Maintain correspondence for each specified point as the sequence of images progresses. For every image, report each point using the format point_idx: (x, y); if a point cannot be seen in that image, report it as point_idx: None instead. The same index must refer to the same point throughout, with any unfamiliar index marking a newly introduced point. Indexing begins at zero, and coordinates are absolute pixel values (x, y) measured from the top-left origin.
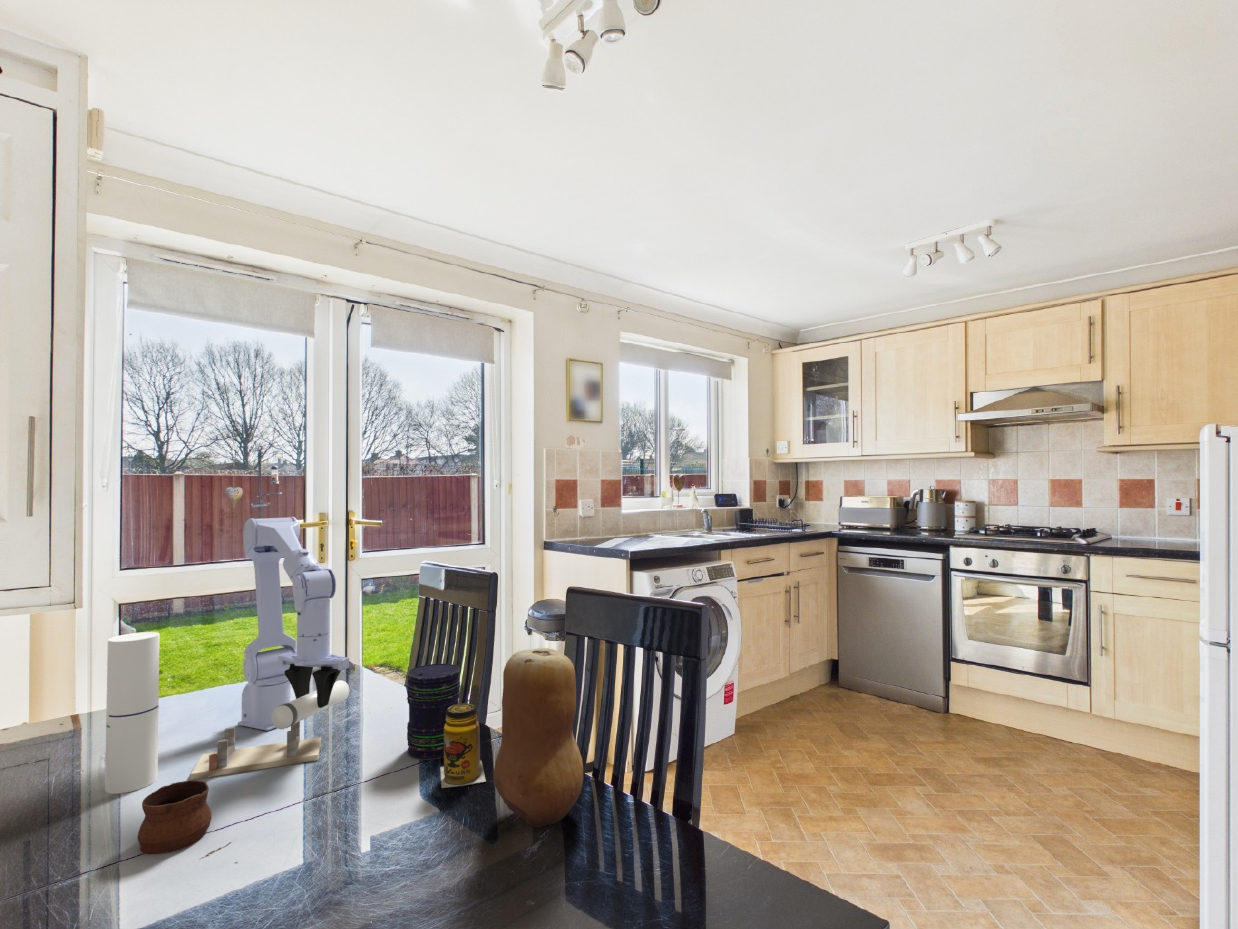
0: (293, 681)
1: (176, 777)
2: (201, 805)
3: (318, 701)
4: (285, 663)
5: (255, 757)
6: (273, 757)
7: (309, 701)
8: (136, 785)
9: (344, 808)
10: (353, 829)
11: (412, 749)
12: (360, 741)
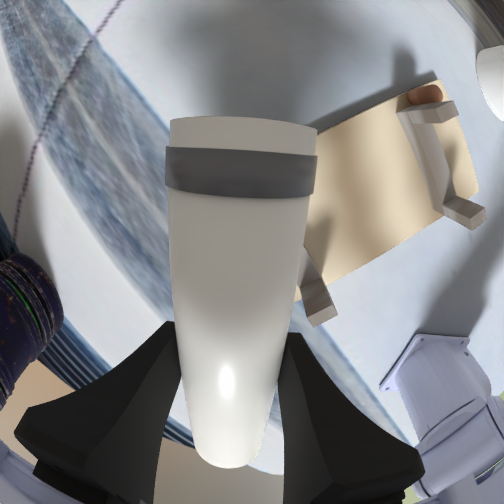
0: (337, 426)
1: (463, 99)
2: None
3: (161, 335)
4: (437, 501)
5: (361, 172)
6: None
7: (179, 313)
8: (483, 53)
9: (27, 58)
10: (7, 34)
11: (23, 266)
12: None
